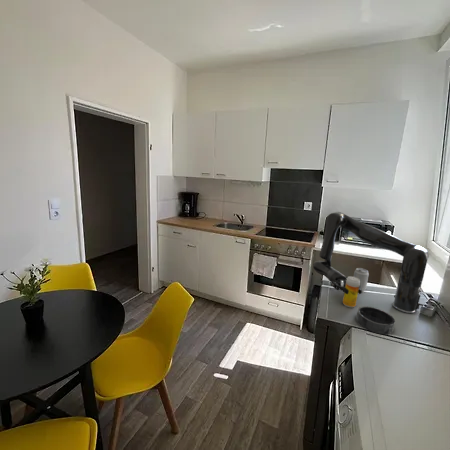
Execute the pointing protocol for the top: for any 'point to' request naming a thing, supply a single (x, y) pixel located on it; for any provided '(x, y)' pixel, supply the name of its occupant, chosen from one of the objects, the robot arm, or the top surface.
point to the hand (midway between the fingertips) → (354, 292)
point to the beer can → (351, 291)
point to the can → (362, 277)
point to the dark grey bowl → (375, 320)
